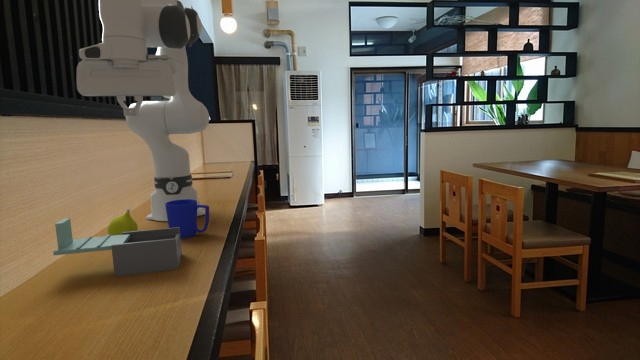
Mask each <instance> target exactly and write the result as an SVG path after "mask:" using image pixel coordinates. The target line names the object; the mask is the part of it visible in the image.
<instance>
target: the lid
mask: <svg viewBox="0 0 640 360" xmlns="http://www.w3.org/2000/svg"><path fill="white" fill-rule="evenodd" d="M54 226H55V235H56V241H57V248H56V249H55V250H53V251H52V253H53V256H61V255H72V254H80V253H81V254H82V253H93V252H100V251H101V252H102V251H112V247H111V245H112V244H122V243H127V241H128V240H129V239H130V234H125V235H114V236H110V235H108V234H107V235H105V236H104V235H103V236H92V235H90V236H88V237H82V238H73V230H72V223H71V218H63V219H60V220H59V221H57V222H56V223H55V225H54Z"/></svg>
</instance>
